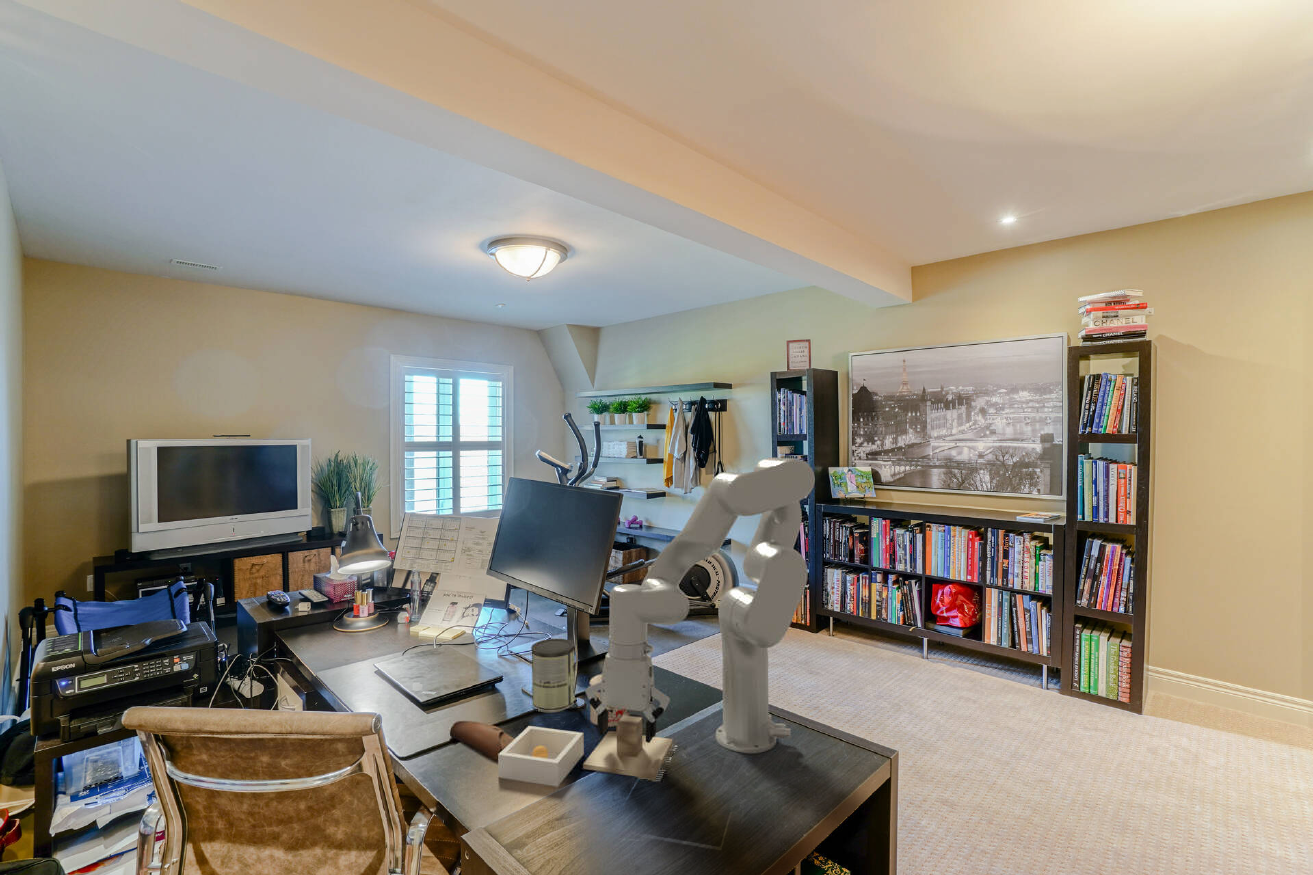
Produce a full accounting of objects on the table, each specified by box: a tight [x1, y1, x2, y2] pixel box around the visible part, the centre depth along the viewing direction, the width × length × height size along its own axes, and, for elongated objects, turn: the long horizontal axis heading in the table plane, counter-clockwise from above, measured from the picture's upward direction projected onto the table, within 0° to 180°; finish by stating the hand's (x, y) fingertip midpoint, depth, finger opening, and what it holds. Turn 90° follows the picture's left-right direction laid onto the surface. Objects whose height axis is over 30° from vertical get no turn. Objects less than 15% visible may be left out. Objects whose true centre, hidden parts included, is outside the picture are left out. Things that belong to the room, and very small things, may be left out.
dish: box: [497, 725, 585, 788], centre depth 120 cm, size 12×12×5 cm
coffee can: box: [530, 638, 576, 714], centre depth 150 cm, size 10×10×14 cm
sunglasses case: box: [449, 720, 515, 763], centre depth 130 cm, size 18×7×7 cm, turn 49°
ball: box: [532, 746, 548, 758], centre depth 121 cm, size 3×3×3 cm
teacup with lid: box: [588, 673, 630, 728], centre depth 141 cm, size 12×9×12 cm
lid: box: [582, 715, 674, 782], centre depth 123 cm, size 14×14×7 cm
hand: (626, 735), depth 123 cm, fingers open, 9 cm apart
